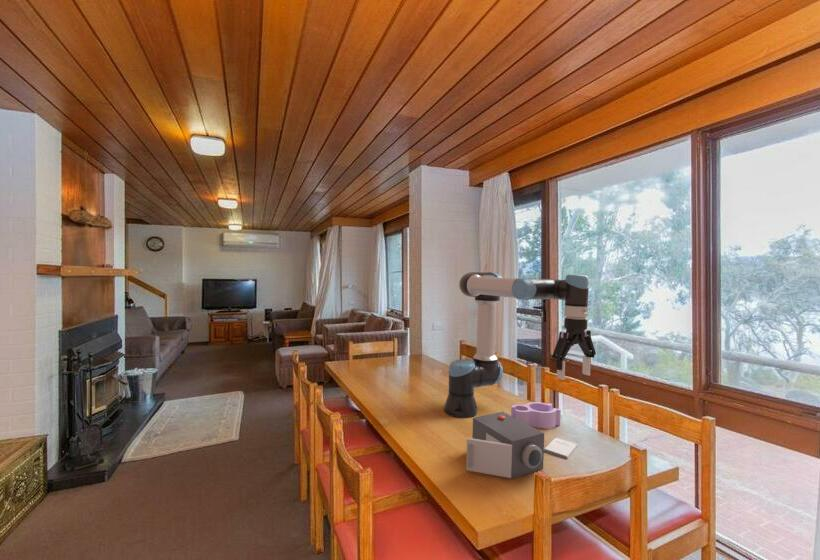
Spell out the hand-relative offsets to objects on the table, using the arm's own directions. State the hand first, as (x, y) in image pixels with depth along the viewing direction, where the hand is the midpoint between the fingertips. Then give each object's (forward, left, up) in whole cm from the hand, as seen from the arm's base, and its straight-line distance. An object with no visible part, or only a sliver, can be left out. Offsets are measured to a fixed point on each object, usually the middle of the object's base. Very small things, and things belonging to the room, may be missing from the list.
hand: (573, 376), depth 130 cm
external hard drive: (-4, 0, -29) cm, 29 cm away
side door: (-1, -37, -27) cm, 46 cm away
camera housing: (-6, -24, -28) cm, 38 cm away
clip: (-25, +9, -28) cm, 39 cm away
